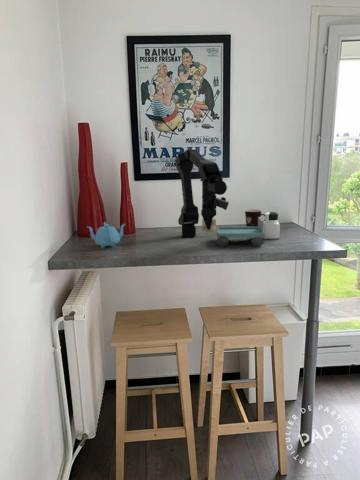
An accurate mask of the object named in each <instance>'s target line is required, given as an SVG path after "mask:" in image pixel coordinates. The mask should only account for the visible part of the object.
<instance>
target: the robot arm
mask: <svg viewBox="0 0 360 480" xmlns="http://www.w3.org/2000/svg"><path fill="white" fill-rule="evenodd" d="M174 164H175V167H176V171H177V172H178V173H179V175H180V182H181V193H182V202H183V205H182V207H181V209H180V215H179V218H178V219H177V220H178V225H180V226H181V238H195V237H197V227H196V226H195V225H198V224H199V220H200V215H201V217H202V218H203V219H204V222H205V224H206V226H207V229H210V228H211V223H212V218H214V217H216V216H217V207H218V208H220V209H223V210H225V211H226V210H227V209H228V207H229V204H230V202H229V201H228V200H227V199H226V197H224V196H222V197H221V198H219V197H217V195H219V196H221V195H224V194H225V193H226V192H227V189H228V186H227V182H225V181H224V180H223V179H224V178H223V176H222V175H223V174H222V173H221V171H220V168H219V166H218V164H217V163H216V162H215V161H212V160H208V159H206V158H205V157H203V155H201V154H200V153H199V152H198V151H197V150H196V149H185V151H184V152H182V153H180V154H178V155H177V156H176V158H175V159H174ZM194 166H196V167H197V168H198V171H197V172H198V173H199V174H200V176H201V178H200V180H199V181H200V182H201V189H202V190H201V191H202V192H201V193H202V194H201V198H202V199H201V201H202V203H201V210H200V211H201V213H200V214H199V208H198V206H196V205H195V203H194V196H193V194H194V192H193V184H192V176H191V175H192V174H191V173H192V171H193V169H194Z"/></svg>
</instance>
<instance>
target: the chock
mask: <svg viewBox="0 0 360 480" xmlns="http://www.w3.org/2000/svg"><path fill="white" fill-rule="evenodd" d="M201 232H202V233H217V218H214V217H213V218H212V223H211V228H210V229H207V226H206V224H205V222H204V219H203V217H202V218H201Z"/></svg>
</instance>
